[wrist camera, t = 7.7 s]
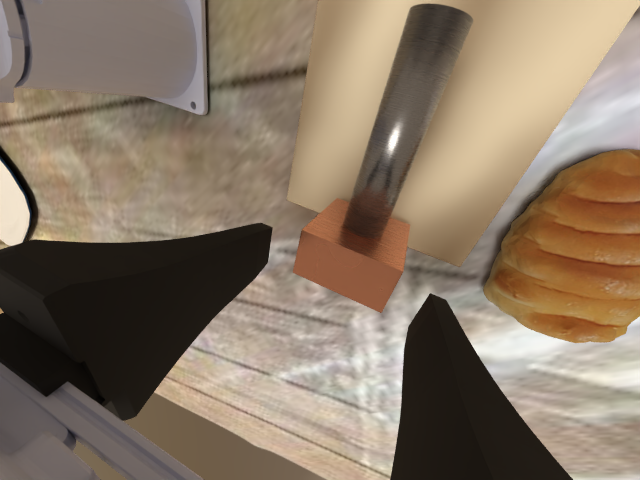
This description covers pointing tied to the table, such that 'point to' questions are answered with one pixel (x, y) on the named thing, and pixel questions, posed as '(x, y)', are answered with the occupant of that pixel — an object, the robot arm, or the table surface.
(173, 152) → the table surface
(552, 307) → the pastry
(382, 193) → the bolt
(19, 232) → the plate
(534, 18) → the latch board
